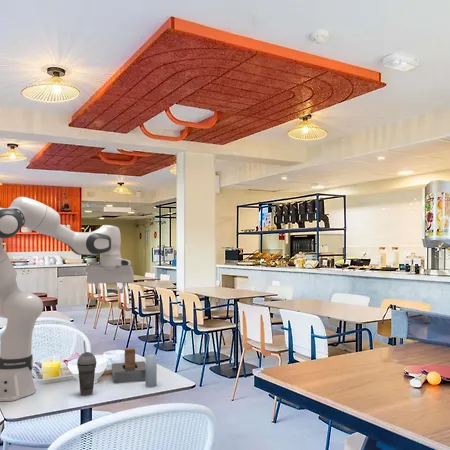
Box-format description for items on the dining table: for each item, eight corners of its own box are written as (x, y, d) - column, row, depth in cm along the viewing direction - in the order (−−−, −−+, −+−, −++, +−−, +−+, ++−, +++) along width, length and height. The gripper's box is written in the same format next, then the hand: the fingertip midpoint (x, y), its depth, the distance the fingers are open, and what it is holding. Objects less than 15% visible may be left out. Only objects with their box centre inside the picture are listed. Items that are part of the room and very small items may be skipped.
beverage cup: (90, 397, 179) (91, 343, 180) (72, 395, 181) (73, 342, 181) (99, 391, 186) (100, 339, 187) (82, 389, 188) (82, 338, 188)
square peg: (124, 376, 206) (124, 348, 207) (134, 375, 207) (134, 347, 208) (125, 379, 202) (125, 350, 203) (134, 378, 204) (135, 349, 204)
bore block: (114, 383, 196) (114, 372, 196) (112, 374, 210) (112, 363, 210) (148, 380, 200) (148, 369, 201) (144, 371, 214) (144, 361, 214)
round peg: (146, 387, 191) (146, 357, 191) (144, 384, 195) (144, 354, 195) (157, 386, 192) (157, 356, 193) (155, 383, 196) (155, 353, 197)
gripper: (85, 262, 205) (85, 295, 204) (134, 261, 211) (134, 293, 210) (85, 261, 211) (85, 293, 210) (132, 261, 217) (132, 291, 216)
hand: (110, 293), depth 210 cm, fingers open, 8 cm apart
